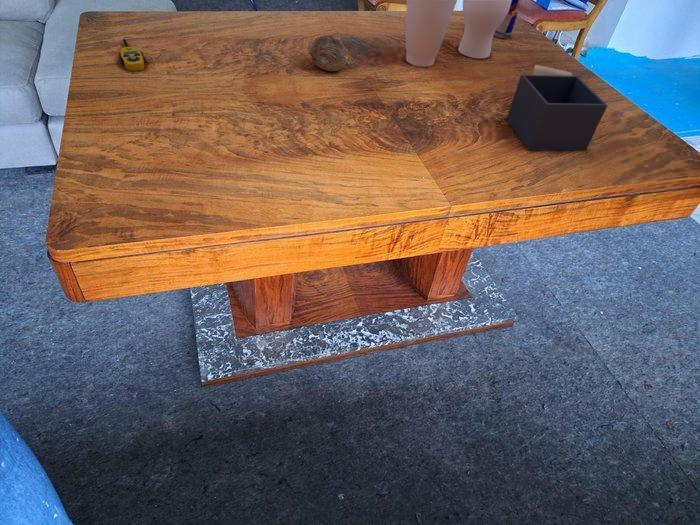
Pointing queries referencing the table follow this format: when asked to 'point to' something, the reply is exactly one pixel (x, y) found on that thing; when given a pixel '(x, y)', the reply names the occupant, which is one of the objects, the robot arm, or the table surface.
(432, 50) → the cup
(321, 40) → the seashell
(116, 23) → the table surface
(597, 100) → the box
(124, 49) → the yellow walkie talkie
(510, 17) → the beverage can
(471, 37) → the cup
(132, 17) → the table surface
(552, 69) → the block
